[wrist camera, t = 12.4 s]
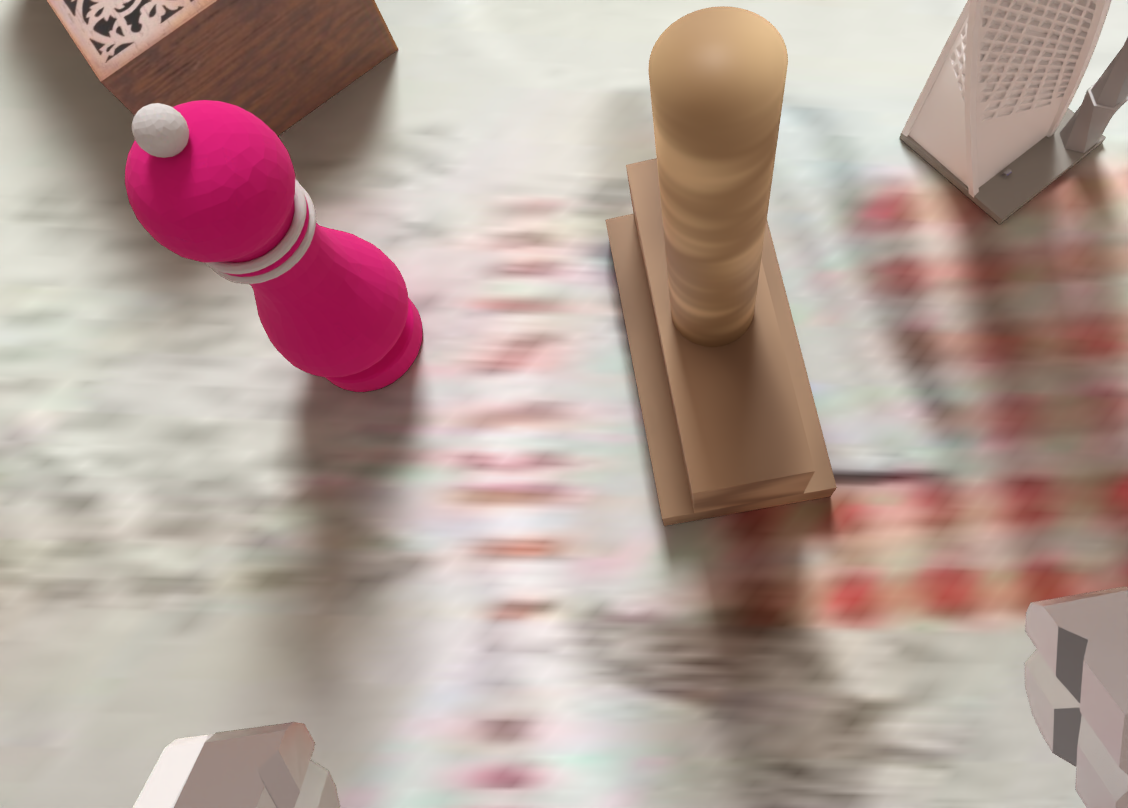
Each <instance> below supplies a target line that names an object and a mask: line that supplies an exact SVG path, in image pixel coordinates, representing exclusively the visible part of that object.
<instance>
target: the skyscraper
mask: <svg viewBox="0 0 1128 808" xmlns="http://www.w3.org/2000/svg"><path fill="white" fill-rule="evenodd" d="M1110 3H1111V0H968V1H967V3H966V5H965V7H964V9H963V11H962V13H961V15H960V17H959V19H958V21H957V23H956V25H955V27H954V28H953V30H952V32H951V34H950V36H949V38H948V40H947V42H946V44H945V46H944V48H943V50H942V52H941V54H940V56H939V58H938V60H937V62H936V64H935V66H934V68H933V70H932V72H931V74H930V76H929V78H928V80H927V82H926V84H925V86H924V88H923V90H922V92H921V94H920V96H919V98H918V100H917V102H916V104H915V106H914V108H913V110H912V112H911V114H910V117H909V119H908V121H907V123H906V125H905V127H904V129H903V131H902V133H901V136H900V139H901V140H902V141H903V142H905V143H906V144H907V145H908V146H909V147H910V148H912V149H913V150H914V151H915V152H916V153H917V154H919V155H920V156H921V157H922V158H923V159H924V160H925V161H927V162H928V163H929V164H930V165H931V166H932V167H934V168H935V169H936V170H937V171H938V172H939V173H941V174H942V175H943V176H944V177H945V178H946V179H948V180H949V181H950V182H951V183H952V184H953V185H955V186H956V187H957V188H958V189H959V190H960V191H961V192H963V193H964V194H965V195H966V196H967V197H968V198H970V199H971V200H972V201H973V202H974V203H975V204H977V205H978V206H979V207H980V208H981V209H982V210H984V211H985V212H986V213H987V214H988V215H989V216H991V217H992V218H993V219H994V220H995V221H996V222H997V223H999V224H1001V223H1002V222H1003V221H1005V220H1006V219H1007V218H1008V217H1010V216H1011V215H1012V214H1013V213H1015V212H1016V211H1017V210H1018V209H1020V208H1021V207H1022V206H1023V205H1025V204H1026V203H1027V202H1028V201H1030V200H1031V199H1032V198H1033V197H1035V196H1036V195H1037V194H1038V193H1040V192H1041V191H1042V190H1043V189H1045V188H1046V187H1047V186H1048V185H1050V184H1051V183H1052V182H1053V181H1055V180H1056V179H1057V178H1058V177H1060V176H1061V175H1062V174H1063V173H1065V172H1066V171H1067V170H1069V169H1070V168H1071V167H1072V166H1074V165H1075V164H1076V163H1077V162H1079V161H1080V160H1081V159H1082V158H1084V157H1085V156H1086V155H1087V154H1089V153H1090V152H1091V151H1092V150H1094V149H1095V148H1096V147H1097V146H1099V145H1100V144H1101V143H1102V142H1103V141H1104V140H1105V138H1106V137H1105V136H1103V135H1102V134H1103V132H1104V130H1105V128H1106V126H1107V124H1108V123H1109V121H1110V119H1111V118H1112V116H1113V115H1114V114H1115V112H1116V111H1117V110H1118V109H1119V108H1120V107H1121V106H1122V105H1123V104H1124V103H1125V102H1126V101H1127V100H1128V38H1127V40H1126V42H1125V44H1124V46H1123V47H1122V49H1121V50H1120V51H1119V53H1118V54H1117V55H1116V57H1115V58H1114V59H1113V61H1112V62H1111V64H1110V65H1109V66H1108V68H1107V69H1106V70H1105V72H1104V73H1103V74H1102V76H1101V77H1100V78H1099V80H1098V81H1097V82H1096V83H1095V84H1094V85H1093V86H1091V87H1090V88H1089V89H1088V90H1087V92H1086V95H1085V97H1084V100H1083V103H1082V105H1081V106H1080V107H1079V108H1078V110H1077V111H1076V112H1075V113H1074V112H1072V111H1071V110H1070V109H1069V108H1068V107H1069V105H1070V103H1071V101H1072V99H1073V97H1074V95H1075V93H1076V91H1077V89H1078V87H1079V84H1080V82H1081V80H1082V78H1083V76H1084V73H1085V71H1086V69H1087V67H1088V64H1089V62H1090V59H1091V57H1092V54H1093V52H1094V49H1095V47H1096V44H1097V42H1098V39H1099V36H1100V33H1101V30H1102V27H1103V25H1104V22H1105V19H1106V16H1107V13H1108V10H1109V7H1110Z"/></svg>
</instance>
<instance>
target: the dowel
mask: <svg viewBox="0 0 1128 808" xmlns="http://www.w3.org/2000/svg"><path fill="white" fill-rule="evenodd" d="M787 64H788V54H787V49H786V46H785V43H784V40H783V38H782V37H781V35H780V33H779V32H778V31H777V29H776V28H775V27H774V26H773V25H772V24H771V23H770V22H769V21H767V20H766V19H764V18H763V17H761V16H759V15H757V14H756V13H753V12H751V11H748V10H744V9H741V8H735V7H711V8H706V9H701V10H698V11H695V12H692V13H690V14H687V15H685V16H684V17H682V18H680V19H678V20H677V21H675V22H674V23H673V24H671V25H670V26H669V27H668V28H667V29H666V30H665V31H664V32H663V33H662V34H661V35H660V37H659V38H658V40H657V41H656V43H655V45H654V47H653V49H652V52H651V55H650V60H649V80H650V91H651V101H652V112H653V123H654V134H655V144H656V155H657V166H658V177H659V187H660V198H661V209H662V220H663V230H664V241H665V252H666V263H667V273H668V284H669V295H670V306H671V315H672V319H673V322H674V325H675V327H676V328H677V330H678V331H679V332H680V334H681V335H682V336H684V337H685V338H686V339H687V340H689V341H691V342H693V343H695V344H697V345H701V346H706V347H718V346H723V345H727V344H729V343H732V342H733V341H735V340H737V339H738V338H740V337H741V336H742V335H743V334H744V333H745V332H746V331H747V329H748V328H749V326H750V324H751V322H752V319H753V316H754V309H755V302H756V294H757V287H758V279H759V272H760V265H761V257H762V250H763V242H764V235H765V228H766V220H767V213H768V205H769V198H770V191H771V183H772V176H773V168H774V161H775V154H776V146H777V139H778V131H779V124H780V117H781V109H782V102H783V94H784V87H785V80H786V72H787Z"/></svg>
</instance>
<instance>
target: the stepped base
mask: <svg viewBox="0 0 1128 808" xmlns="http://www.w3.org/2000/svg"><path fill="white" fill-rule="evenodd" d="M626 168H627V174H628V181H629V187H630V193H631V200H632V206H633V212H634V214H630V215H625V216H621V217H616V218H611V219H607V220H606V225H607V230H608V236H609V241H610V246H611V252H612V257H613V262H614V267H615V273H616V278H617V283H618V288H619V294H620V299H621V304H622V310H623V315H624V320H625V325H626V331H627V336H628V341H629V346H630V352H631V357H632V362H633V368H634V373H635V378H636V383H637V389H638V394H639V399H640V405H641V410H642V415H643V420H644V426H645V431H646V436H647V441H648V447H649V452H650V457H651V463H652V468H653V473H654V478H655V484H656V489H657V494H658V499H659V505H660V510H661V515H662V520H663V524H664V526H667V525H673V524H678V523H684V522H690V521H695V520H701V519H707V518H712V517H718V516H723V515H729V514H735V513H740V512H746V511H752V510H757V509H763V508H768V507H774V506H780V505H785V504H791V503H797V502H802V501H808V500H813V499H819V498H825V497H830V496H831V495H832V494H833V492H834V491H835V489H836V488H837V487H836V484H835V480H834V476H833V472H832V468H831V464H830V460H829V457H828V453H827V449H826V445H825V441H824V437H823V434H822V430H821V426H820V422H819V418H818V414H817V410H816V407H815V403H814V399H813V395H812V391H811V387H810V384H809V380H808V376H807V372H806V368H805V364H804V360H803V357H802V353H801V349H800V345H799V341H798V337H797V334H796V330H795V326H794V322H793V318H792V314H791V310H790V307H789V303H788V299H787V295H786V291H785V287H784V284H783V280H782V276H781V272H780V268H779V264H778V260H777V257H776V253H775V249H774V245H773V241H772V237H771V234H770V230H769V226H768V222H767V220H766V228H765V235H764V242H763V250H762V257H761V265H760V272H759V279H758V287H757V294H756V302H755V309H754V316H753V319H752V322H751V324H750V326H749V328H748V329H747V331H746V332H745V333H744V334H743V335H742V336H741V337H740V338H738V339H737V340H735V341H733V342H732V343H729V344H727V345H723V346H718V347H706V346H701V345H697V344H695V343H693V342H691V341H689V340H687V339H686V338H685V337H684V336H682V335H681V334H680V332H679V331H678V330H677V328H676V327H675V325H674V322H673V319H672V315H671V306H670V295H669V284H668V273H667V263H666V252H665V241H664V230H663V220H662V209H661V198H660V187H659V177H658V166H657V158H656V159H651V160H647V161H642V162H638V163H633V164H629V165H626Z"/></svg>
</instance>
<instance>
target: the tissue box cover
mask: <svg viewBox="0 0 1128 808" xmlns="http://www.w3.org/2000/svg"><path fill="white" fill-rule="evenodd" d="M47 2H48V3H49V5H50V6H51V8H52V9H53V11H54V12H55V14H56V15H57V17H58V18H59V20H60V21H61V23H62V24H63V26H64V27H65V29H66V30H67V32H68V34H69V35H70V37H71V38H72V40H73V41H74V43H75V44H76V46H77V47H78V49H79V50H80V52H81V53H82V55H83V56H84V58H85V59H86V61H87V62H88V64H89V65H90V67H91V68H92V70H93V71H94V73H95V74H96V76H97V77H98V79H99V80H100V82H101V83H102V84H103V85H104V86H105V87H106V88H107V89H108V90H109V91H110V92H111V93H112V94H113V95H114V96H115V97H116V98H117V99H118V100H119V101H120V102H121V103H122V104H123V105H124V106H125V107H126V108H127V109H128V110H130V111H131V112H132V113H133V114H134V115H136V113H137V112H138V111H139V110H140V109H141V108H142V107H144V106H147V105H149V104H155V103H160V104H165V105H169V106H171V107H174V106H176V105H179V104H183V103H187V102H191V101H199V100H211V101H221V102H225V103H229V104H232V105H236V106H239V107H241V108H242V109H244V110H246V111H248V112H250V113H252V114H253V115H255V116H256V117H258V118H259V119H260V120H262V121H263V122H264V123H265V124H266V125H267V126H268V127H269V128H270V129H271V130H273V131H274V132H275V133H276V135H277V136H278V135H280V134H281V133H283V132H284V131H285V130H287V129H288V128H289V127H291V126H292V125H294V124H295V123H296V122H298V121H299V120H301V119H302V118H303V117H305V116H306V115H308V114H309V113H310V112H312V111H313V110H315V109H316V108H317V107H319V106H320V105H322V104H323V103H324V102H326V101H327V100H329V99H330V98H331V97H333V96H334V95H335V94H337V93H338V92H340V91H341V90H342V89H344V88H345V87H347V86H348V85H349V84H351V83H352V82H354V81H355V80H356V79H358V78H359V77H361V76H362V75H363V74H365V73H366V72H368V71H369V70H370V69H372V68H373V67H375V66H376V65H377V64H379V63H380V62H382V61H383V60H384V59H386V58H387V57H388V56H390V55H391V54H393V53H394V52H395V51H397V50H398V48H397V46H396V44H395V42H394V40H393V38H392V36H391V34H390V32H389V29H388V27H387V25H386V23H385V21H384V19H383V17H382V15H381V13H380V11H379V9H378V7H377V5H376V3H375V1H374V0H47Z"/></svg>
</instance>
